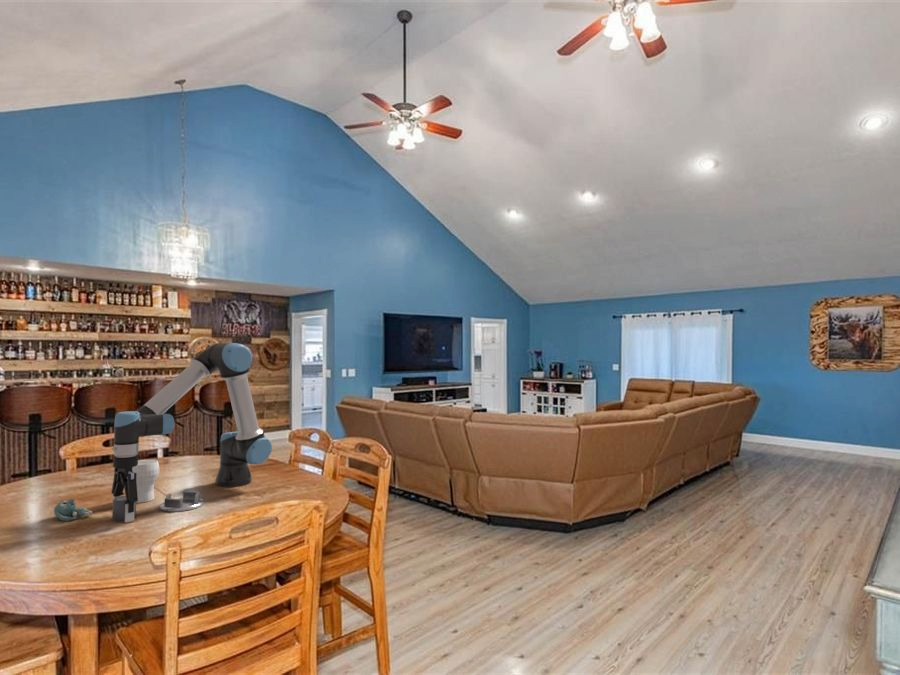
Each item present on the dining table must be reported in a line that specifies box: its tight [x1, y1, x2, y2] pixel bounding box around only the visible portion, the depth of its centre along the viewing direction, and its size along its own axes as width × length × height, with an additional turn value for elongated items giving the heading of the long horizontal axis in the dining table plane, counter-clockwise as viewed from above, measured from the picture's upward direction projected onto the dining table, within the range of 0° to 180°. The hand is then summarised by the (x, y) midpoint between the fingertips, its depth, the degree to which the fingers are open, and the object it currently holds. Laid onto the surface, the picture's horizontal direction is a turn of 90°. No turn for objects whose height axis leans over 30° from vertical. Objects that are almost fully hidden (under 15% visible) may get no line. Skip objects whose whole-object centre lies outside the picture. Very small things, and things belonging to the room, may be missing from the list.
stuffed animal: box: [53, 498, 93, 522], centre depth 182 cm, size 11×7×12 cm
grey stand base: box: [159, 490, 205, 513], centre depth 197 cm, size 15×15×4 cm
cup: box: [132, 459, 160, 504], centre depth 203 cm, size 11×11×15 cm
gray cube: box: [111, 495, 137, 523], centre depth 181 cm, size 7×7×7 cm
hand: (123, 518), depth 181 cm, fingers open, 10 cm apart
